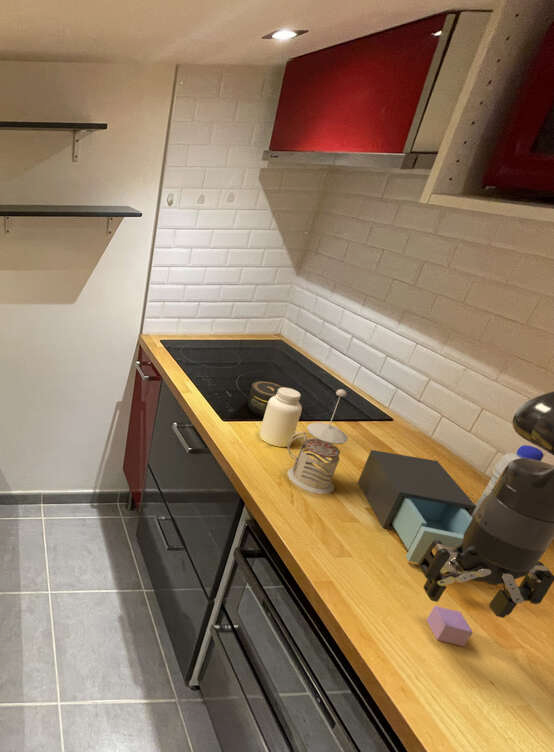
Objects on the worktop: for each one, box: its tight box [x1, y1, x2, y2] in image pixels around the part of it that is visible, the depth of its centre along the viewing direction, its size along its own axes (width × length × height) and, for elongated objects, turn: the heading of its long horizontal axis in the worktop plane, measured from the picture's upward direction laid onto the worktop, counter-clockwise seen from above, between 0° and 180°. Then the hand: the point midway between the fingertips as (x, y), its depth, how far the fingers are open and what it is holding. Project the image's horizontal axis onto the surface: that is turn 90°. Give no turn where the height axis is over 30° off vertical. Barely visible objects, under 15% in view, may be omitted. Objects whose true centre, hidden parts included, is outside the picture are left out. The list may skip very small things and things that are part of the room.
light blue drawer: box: [391, 496, 473, 573], centre depth 86 cm, size 19×12×8 cm, turn 163°
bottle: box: [471, 444, 544, 518], centre depth 92 cm, size 7×7×20 cm
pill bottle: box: [259, 387, 303, 448], centre depth 120 cm, size 8×8×15 cm
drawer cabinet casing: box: [357, 449, 476, 531], centre depth 97 cm, size 15×13×10 cm
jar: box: [247, 380, 285, 417], centre depth 136 cm, size 10×10×8 cm
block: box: [425, 605, 474, 647], centre depth 73 cm, size 4×4×4 cm
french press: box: [286, 388, 349, 495], centre depth 103 cm, size 10×12×25 cm
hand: (462, 604), depth 71 cm, fingers open, 8 cm apart
